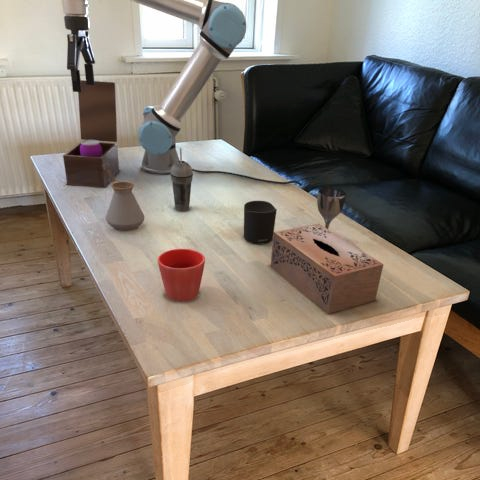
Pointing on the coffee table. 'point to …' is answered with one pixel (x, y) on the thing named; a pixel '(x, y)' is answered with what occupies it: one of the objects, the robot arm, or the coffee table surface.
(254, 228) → the pen holder
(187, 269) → the flower pot
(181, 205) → the beverage cup
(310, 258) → the tissue box cover
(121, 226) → the coffee pot
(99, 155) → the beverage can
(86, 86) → the lid
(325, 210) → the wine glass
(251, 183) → the coffee table surface
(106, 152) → the chest
